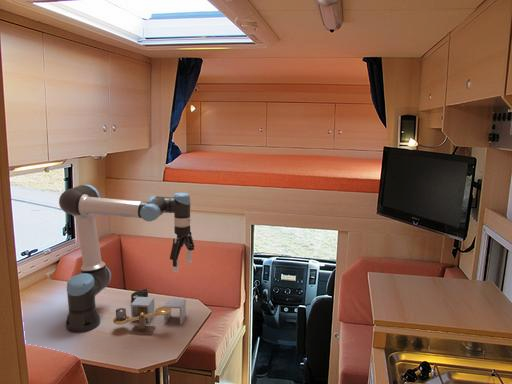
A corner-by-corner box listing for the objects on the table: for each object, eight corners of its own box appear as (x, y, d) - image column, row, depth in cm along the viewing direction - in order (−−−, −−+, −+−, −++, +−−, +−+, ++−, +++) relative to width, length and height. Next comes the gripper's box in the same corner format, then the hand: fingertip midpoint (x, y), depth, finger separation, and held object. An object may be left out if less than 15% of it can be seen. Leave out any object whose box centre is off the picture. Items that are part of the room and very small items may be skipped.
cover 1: (131, 321, 195) (130, 304, 193) (138, 313, 203) (137, 296, 202) (149, 322, 194) (148, 305, 192) (154, 314, 203) (154, 297, 201)
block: (137, 319, 197) (136, 306, 195) (140, 315, 201) (140, 302, 200) (146, 320, 196) (145, 307, 195) (149, 315, 201) (148, 302, 199)
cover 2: (164, 323, 194) (163, 306, 192) (169, 314, 202) (168, 298, 200) (181, 324, 193) (181, 307, 191) (186, 315, 202) (185, 298, 200)
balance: (111, 333, 184) (110, 311, 182) (117, 325, 191) (116, 303, 189) (169, 336, 182) (168, 314, 180) (173, 328, 189) (172, 306, 187)
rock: (135, 308, 209) (134, 297, 208) (129, 300, 217) (129, 290, 216) (152, 304, 214) (151, 293, 213) (145, 296, 222) (145, 286, 221)
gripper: (176, 233, 179) (176, 278, 183) (201, 219, 203) (201, 259, 207) (161, 231, 181) (162, 275, 186) (187, 218, 205) (187, 257, 209)
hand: (182, 267), depth 196 cm, fingers open, 13 cm apart
